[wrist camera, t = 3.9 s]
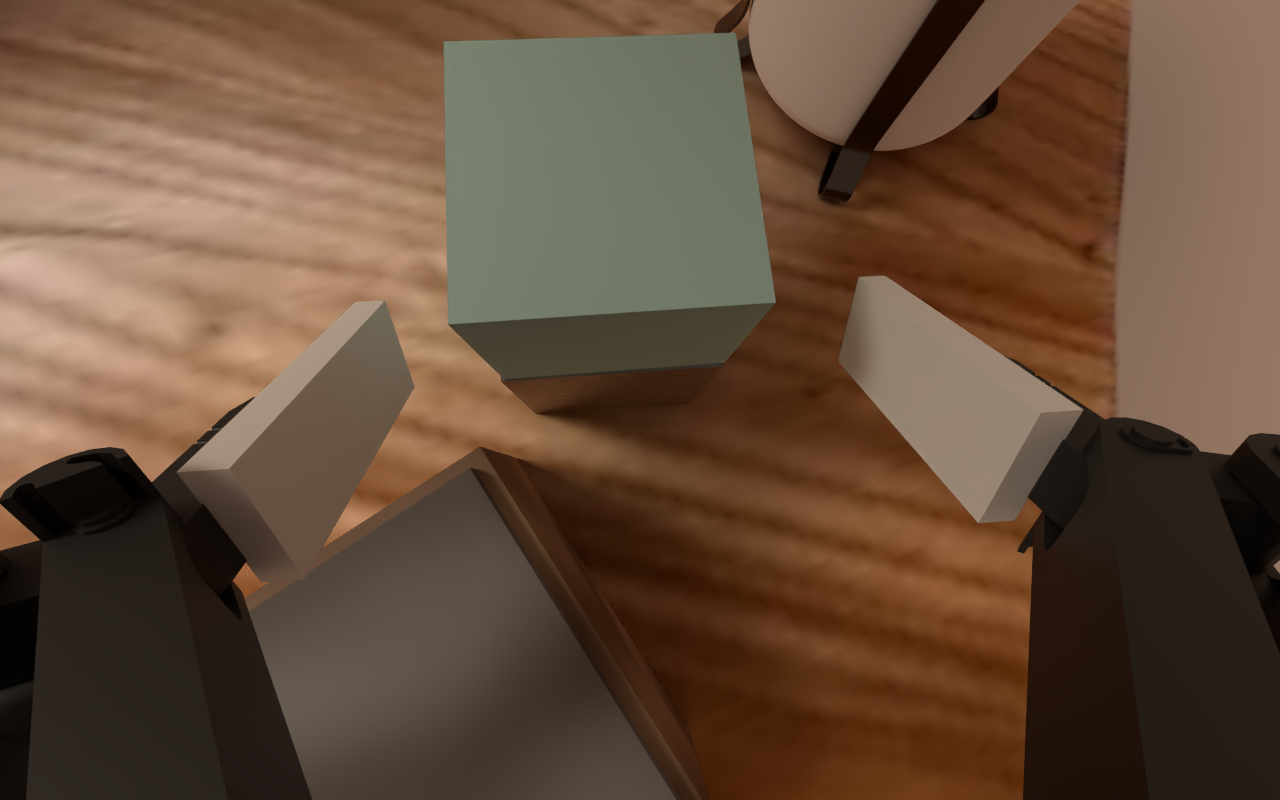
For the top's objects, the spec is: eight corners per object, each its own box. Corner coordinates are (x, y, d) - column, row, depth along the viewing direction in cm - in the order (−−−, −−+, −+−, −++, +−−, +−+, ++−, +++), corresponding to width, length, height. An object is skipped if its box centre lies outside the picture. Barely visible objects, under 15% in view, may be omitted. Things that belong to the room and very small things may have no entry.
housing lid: (504, 378, 15) (448, 324, 10) (495, 137, 16) (442, -15, 11) (724, 362, 15) (776, 302, 10) (695, 128, 17) (728, -21, 12)
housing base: (535, 413, 21) (500, 381, 15) (529, 268, 22) (495, 180, 16) (691, 402, 22) (721, 366, 15) (676, 260, 23) (699, 171, 16)
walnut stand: (234, 643, 19) (58, 713, 13) (515, 458, 21) (475, 445, 15) (397, 959, 17) (281, 1205, 11) (688, 727, 19) (719, 834, 13)
